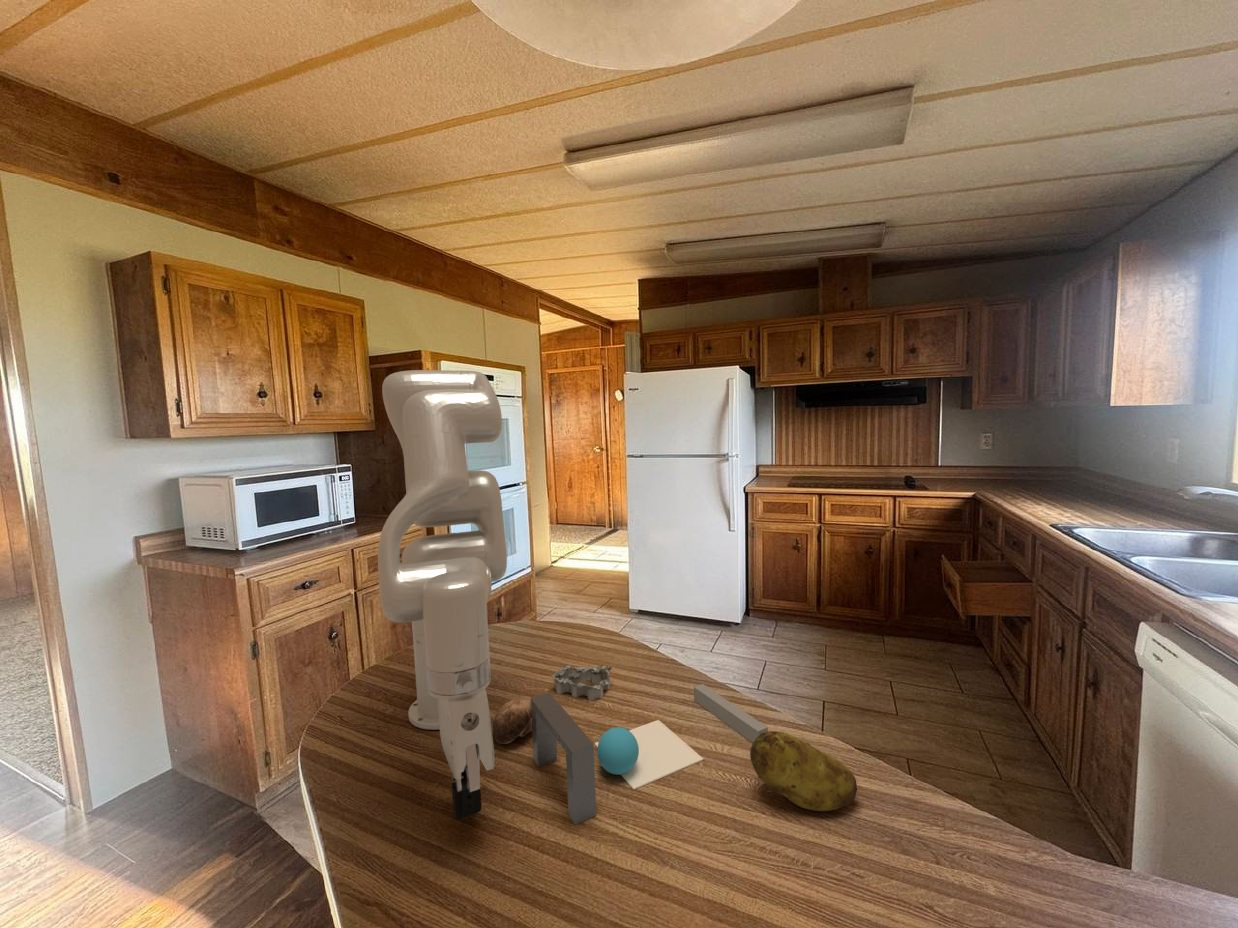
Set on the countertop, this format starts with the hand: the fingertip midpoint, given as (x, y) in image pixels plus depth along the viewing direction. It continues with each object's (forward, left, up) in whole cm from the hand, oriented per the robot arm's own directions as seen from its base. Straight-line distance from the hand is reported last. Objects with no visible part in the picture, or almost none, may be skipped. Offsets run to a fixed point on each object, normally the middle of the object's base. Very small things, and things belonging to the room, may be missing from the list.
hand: (467, 811), depth 67 cm
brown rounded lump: (-15, +11, -2) cm, 19 cm away
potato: (+19, +39, -2) cm, 44 cm away
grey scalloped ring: (-23, +27, -2) cm, 35 cm away
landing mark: (0, +27, -2) cm, 27 cm away
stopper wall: (0, +43, -2) cm, 43 cm away
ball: (+1, +21, +2) cm, 21 cm away
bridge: (0, +13, -2) cm, 13 cm away
